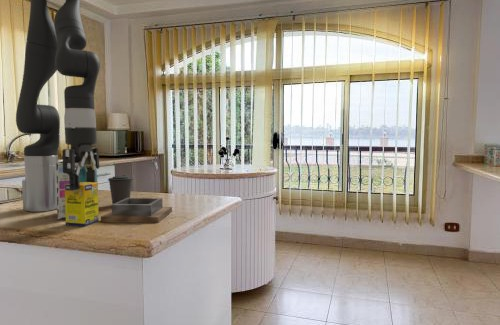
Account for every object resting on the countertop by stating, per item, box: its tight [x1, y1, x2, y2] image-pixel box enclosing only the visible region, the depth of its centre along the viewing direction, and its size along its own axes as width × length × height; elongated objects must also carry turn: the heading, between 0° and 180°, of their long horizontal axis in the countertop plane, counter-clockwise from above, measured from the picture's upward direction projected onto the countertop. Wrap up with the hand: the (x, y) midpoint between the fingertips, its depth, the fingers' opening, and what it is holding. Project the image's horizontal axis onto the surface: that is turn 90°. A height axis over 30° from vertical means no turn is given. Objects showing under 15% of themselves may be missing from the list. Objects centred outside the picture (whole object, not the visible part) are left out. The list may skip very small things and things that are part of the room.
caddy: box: [100, 197, 173, 224], centre depth 101 cm, size 16×14×4 cm
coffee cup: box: [107, 174, 134, 205], centre depth 117 cm, size 8×8×10 cm
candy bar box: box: [56, 159, 76, 220], centre depth 102 cm, size 11×5×16 cm, turn 23°
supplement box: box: [65, 182, 100, 227], centre depth 92 cm, size 6×6×11 cm
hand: (83, 187), depth 92 cm, fingers open, 8 cm apart
